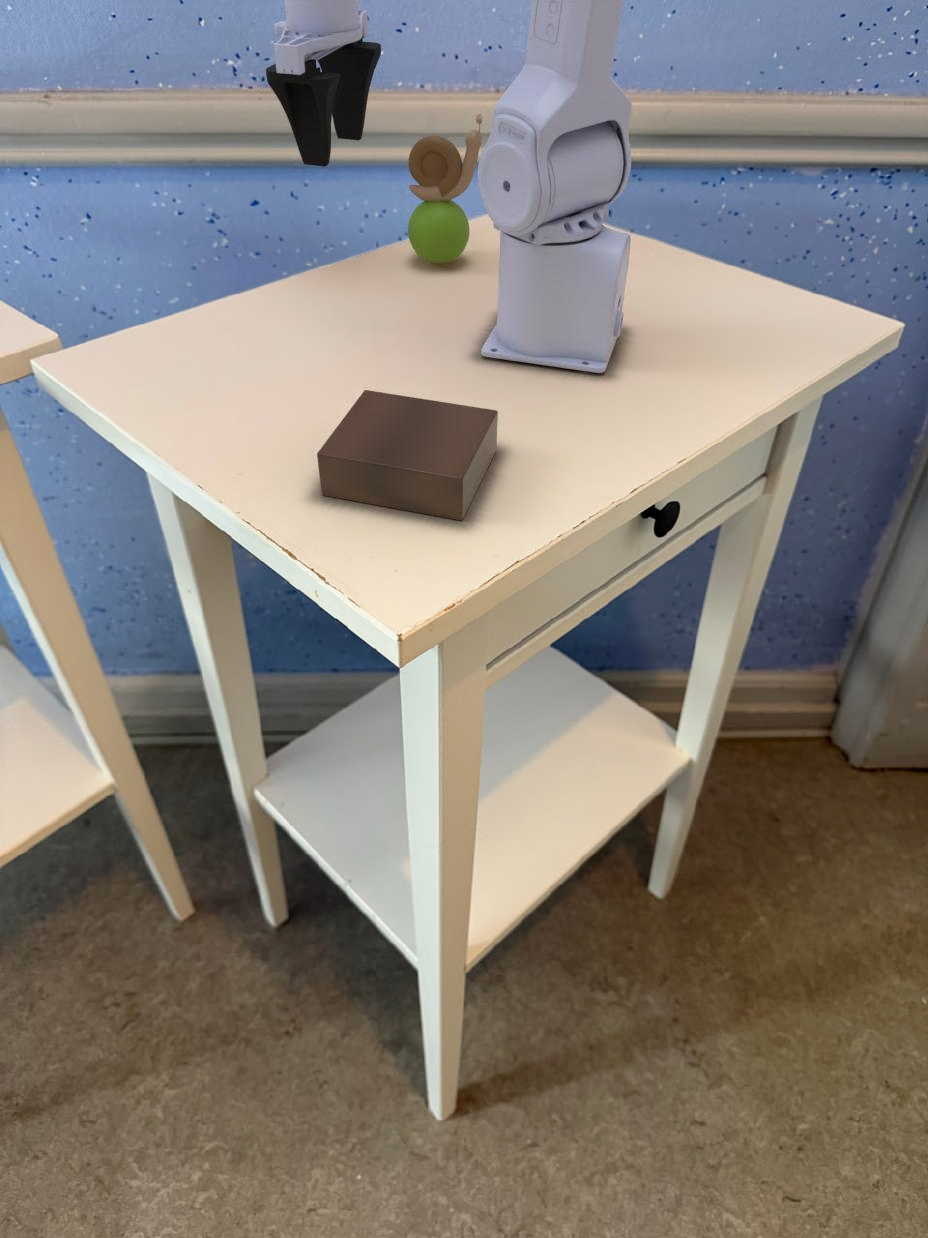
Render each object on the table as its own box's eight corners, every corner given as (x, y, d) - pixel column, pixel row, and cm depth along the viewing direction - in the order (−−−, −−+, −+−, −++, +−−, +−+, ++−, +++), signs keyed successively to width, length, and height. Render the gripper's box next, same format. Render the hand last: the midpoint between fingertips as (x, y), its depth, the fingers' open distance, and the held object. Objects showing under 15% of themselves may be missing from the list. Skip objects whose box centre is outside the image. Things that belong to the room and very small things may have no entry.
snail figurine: (479, 274, 80) (482, 124, 72) (407, 272, 80) (402, 123, 72) (480, 250, 84) (483, 106, 76) (411, 249, 84) (406, 104, 76)
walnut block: (496, 450, 59) (498, 409, 57) (462, 521, 54) (462, 478, 52) (367, 429, 61) (364, 389, 59) (321, 495, 56) (316, 453, 54)
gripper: (307, -58, 75) (323, 123, 84) (226, -32, 65) (254, 171, 74) (387, -53, 74) (394, 130, 83) (317, -26, 64) (334, 180, 73)
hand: (333, 150), depth 79 cm, fingers open, 7 cm apart
